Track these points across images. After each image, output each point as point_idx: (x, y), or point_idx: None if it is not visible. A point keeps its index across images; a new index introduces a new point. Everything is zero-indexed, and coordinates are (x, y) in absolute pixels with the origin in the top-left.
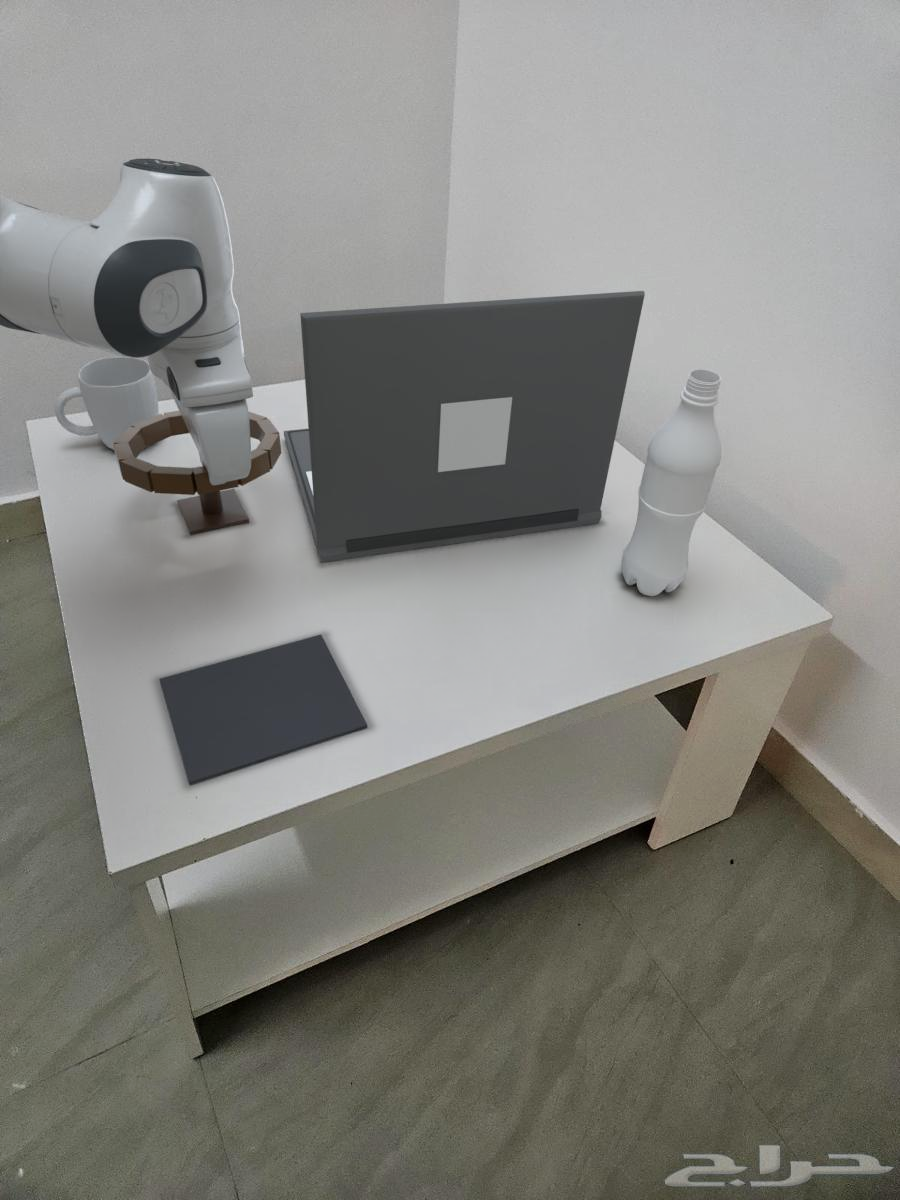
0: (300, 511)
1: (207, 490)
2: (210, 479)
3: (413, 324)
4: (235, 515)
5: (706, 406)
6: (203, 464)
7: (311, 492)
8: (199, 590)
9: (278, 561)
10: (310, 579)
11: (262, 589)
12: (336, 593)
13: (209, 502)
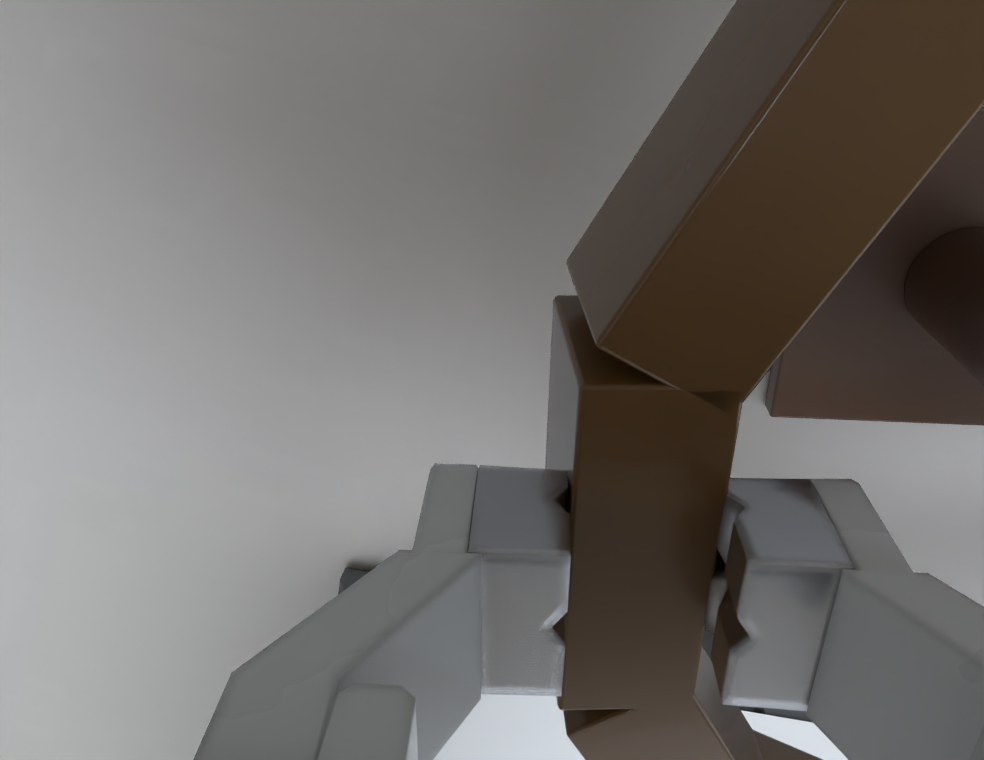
0: None
1: (553, 381)
2: (427, 493)
3: None
4: (834, 370)
5: None
6: (738, 506)
7: (770, 709)
8: (324, 30)
9: (419, 428)
10: (256, 497)
11: (245, 312)
12: (145, 547)
13: (948, 292)
